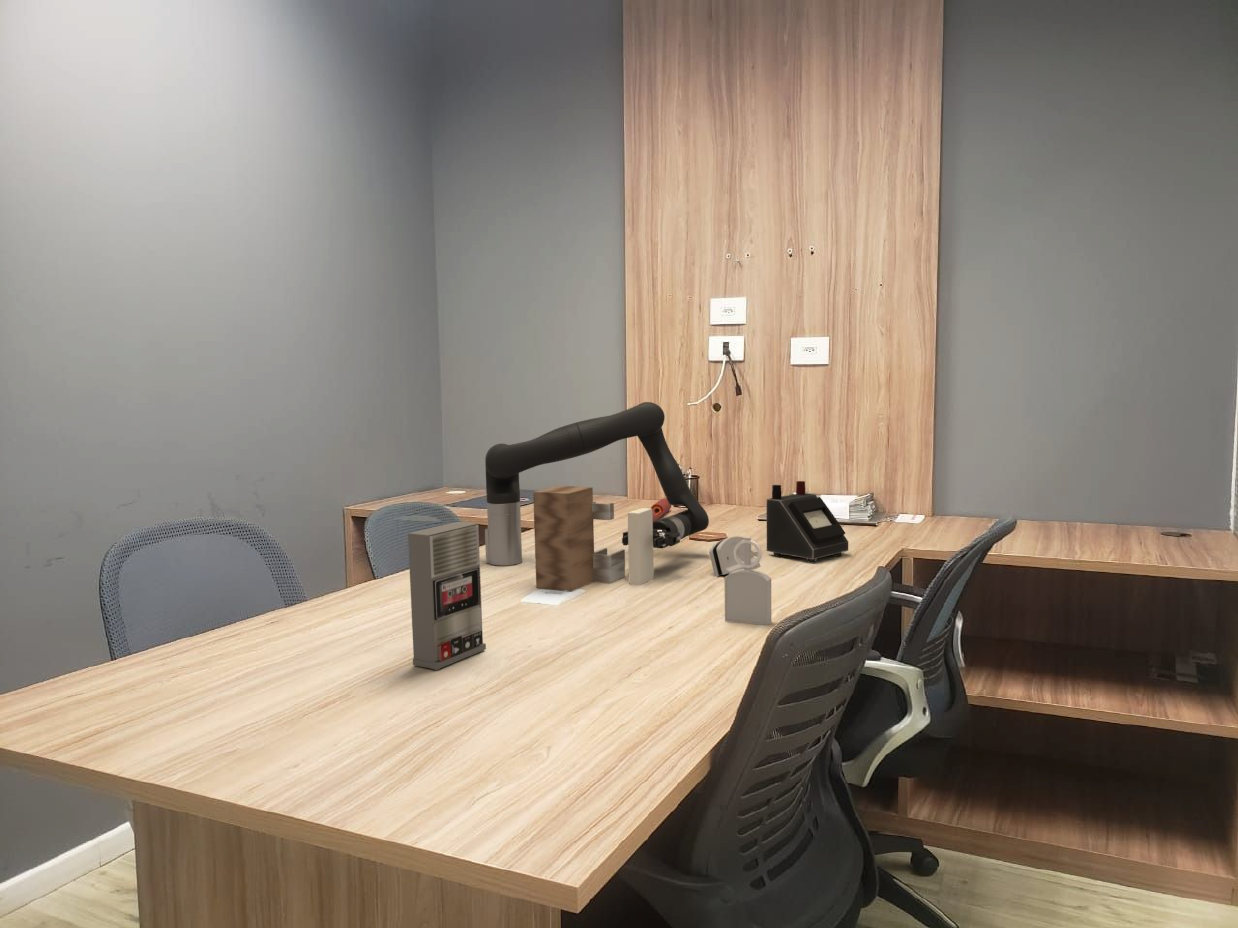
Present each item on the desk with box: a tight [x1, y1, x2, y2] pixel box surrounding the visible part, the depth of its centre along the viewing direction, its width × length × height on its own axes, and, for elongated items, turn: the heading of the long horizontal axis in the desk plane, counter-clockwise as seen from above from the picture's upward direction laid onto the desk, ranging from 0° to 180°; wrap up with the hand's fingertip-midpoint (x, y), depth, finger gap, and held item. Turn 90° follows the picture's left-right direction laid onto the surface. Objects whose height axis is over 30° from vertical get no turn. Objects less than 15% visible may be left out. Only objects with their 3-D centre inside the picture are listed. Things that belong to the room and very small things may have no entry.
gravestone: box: [723, 536, 772, 626], centre depth 197 cm, size 3×9×18 cm, turn 65°
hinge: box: [708, 536, 761, 577], centre depth 246 cm, size 17×5×10 cm, turn 145°
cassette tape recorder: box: [407, 521, 487, 671], centre depth 176 cm, size 14×6×25 cm, turn 148°
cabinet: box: [532, 485, 626, 592], centre depth 236 cm, size 15×20×24 cm
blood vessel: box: [650, 497, 672, 521], centre depth 328 cm, size 42×5×5 cm, turn 166°
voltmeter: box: [765, 480, 849, 564], centre depth 262 cm, size 16×16×20 cm
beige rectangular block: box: [627, 507, 654, 586], centre depth 236 cm, size 3×8×18 cm, turn 153°
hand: (639, 542), depth 235 cm, fingers open, 8 cm apart
